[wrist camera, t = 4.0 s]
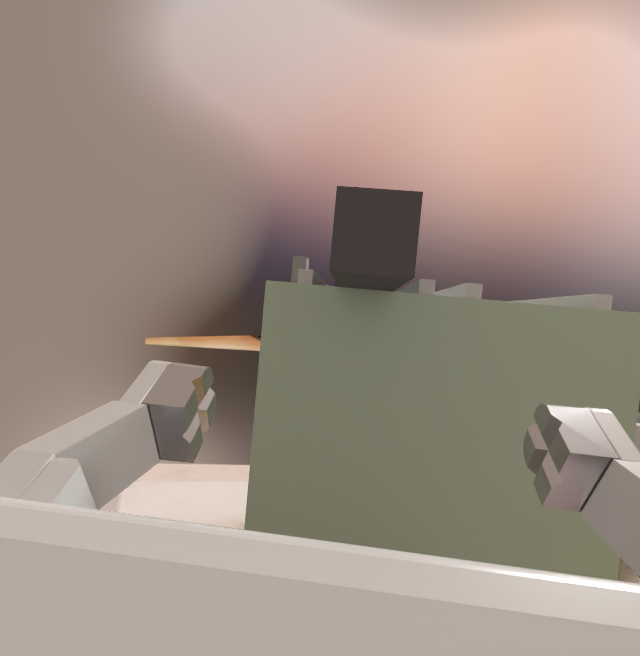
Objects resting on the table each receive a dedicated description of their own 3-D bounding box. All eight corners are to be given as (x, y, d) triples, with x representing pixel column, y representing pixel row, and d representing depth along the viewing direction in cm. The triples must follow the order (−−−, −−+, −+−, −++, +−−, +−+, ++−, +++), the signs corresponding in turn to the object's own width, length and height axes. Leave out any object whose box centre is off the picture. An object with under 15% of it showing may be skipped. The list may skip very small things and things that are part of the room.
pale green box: (600, 720, 27) (655, 265, 26) (232, 661, 29) (270, 234, 28) (509, 570, 43) (541, 284, 42) (276, 539, 45) (300, 264, 44)
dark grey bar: (432, 279, 17) (445, 155, 17) (311, 269, 18) (322, 148, 18) (386, 300, 42) (391, 250, 42) (336, 296, 43) (341, 246, 43)
